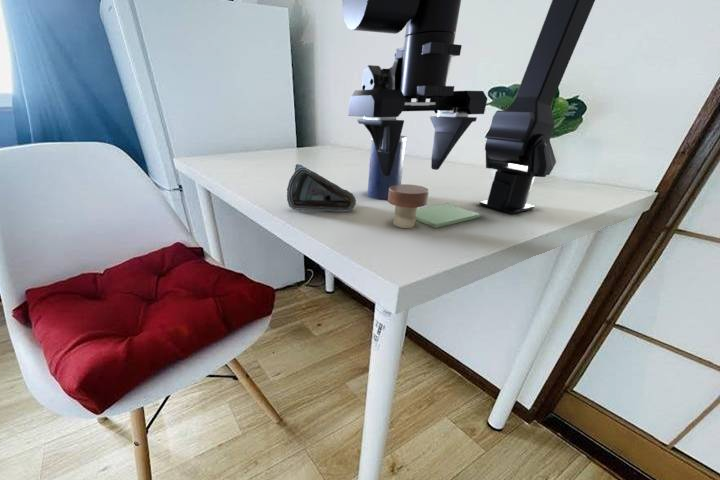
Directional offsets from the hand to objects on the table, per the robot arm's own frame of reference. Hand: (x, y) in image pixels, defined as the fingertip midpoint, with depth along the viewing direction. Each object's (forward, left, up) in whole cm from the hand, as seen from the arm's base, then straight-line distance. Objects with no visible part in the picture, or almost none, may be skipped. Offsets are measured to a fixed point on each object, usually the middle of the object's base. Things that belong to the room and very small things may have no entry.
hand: (411, 172), depth 43 cm
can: (-8, -15, -8) cm, 19 cm away
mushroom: (0, 0, -8) cm, 8 cm away
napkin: (-8, 0, -8) cm, 11 cm away
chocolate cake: (+6, -15, -8) cm, 18 cm away
